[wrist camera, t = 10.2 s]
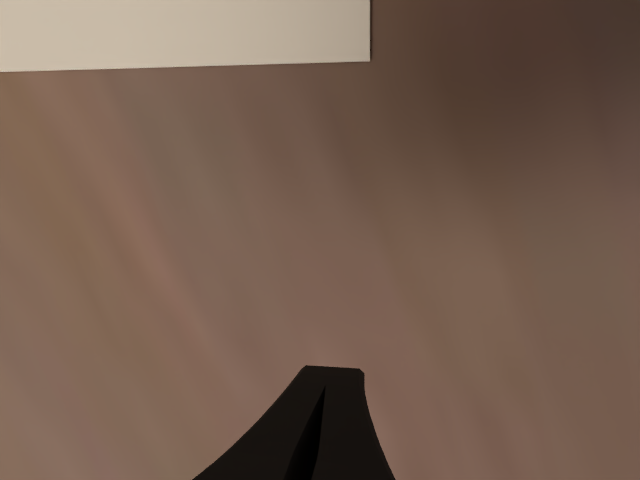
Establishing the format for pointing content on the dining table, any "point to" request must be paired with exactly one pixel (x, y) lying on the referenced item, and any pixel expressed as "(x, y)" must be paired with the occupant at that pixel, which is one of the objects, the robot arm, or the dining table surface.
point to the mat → (180, 33)
